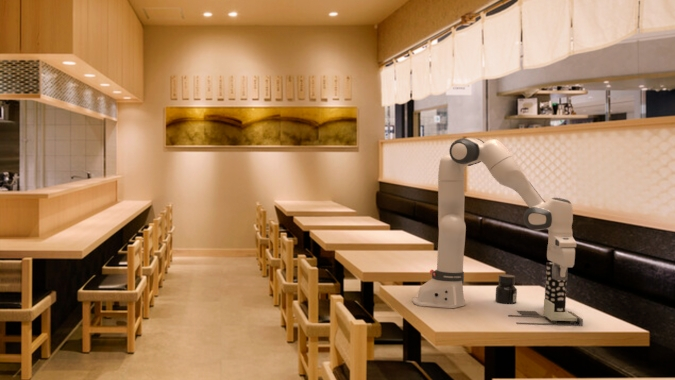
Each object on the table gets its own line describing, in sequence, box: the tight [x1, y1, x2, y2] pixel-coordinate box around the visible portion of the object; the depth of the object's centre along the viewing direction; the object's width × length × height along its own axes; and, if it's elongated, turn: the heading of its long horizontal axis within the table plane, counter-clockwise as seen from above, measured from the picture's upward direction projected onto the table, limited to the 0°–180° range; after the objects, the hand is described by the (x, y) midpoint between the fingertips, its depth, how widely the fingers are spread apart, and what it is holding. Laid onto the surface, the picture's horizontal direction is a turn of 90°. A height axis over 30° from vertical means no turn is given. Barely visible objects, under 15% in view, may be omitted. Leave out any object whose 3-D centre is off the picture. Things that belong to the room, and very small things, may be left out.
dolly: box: [542, 298, 577, 324], centre depth 250 cm, size 10×9×8 cm
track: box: [507, 311, 584, 327], centre depth 250 cm, size 25×12×3 cm, turn 90°
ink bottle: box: [494, 274, 518, 305], centre depth 282 cm, size 10×9×12 cm
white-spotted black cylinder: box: [544, 261, 568, 312], centre depth 269 cm, size 8×8×20 cm
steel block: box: [552, 265, 569, 281], centre depth 250 cm, size 4×4×5 cm
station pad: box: [516, 310, 542, 316], centre depth 262 cm, size 8×8×1 cm
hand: (559, 275), depth 250 cm, fingers closed on steel block, 4 cm apart
